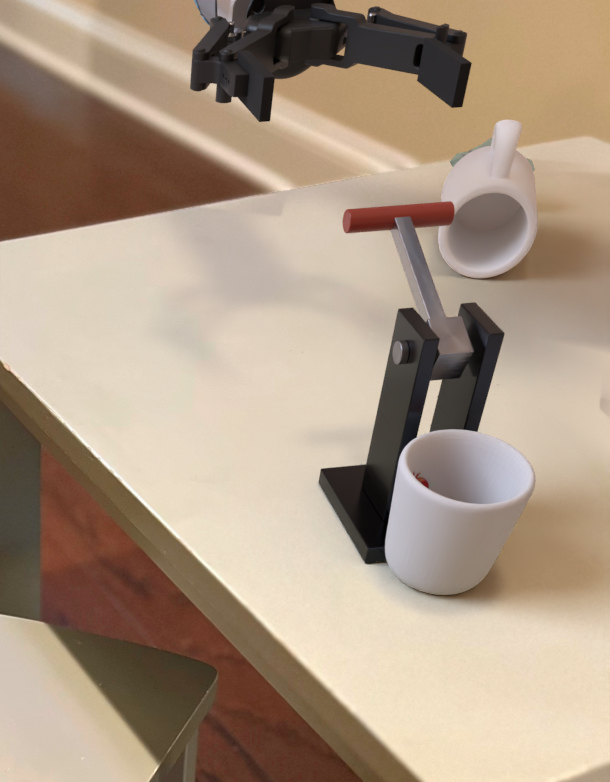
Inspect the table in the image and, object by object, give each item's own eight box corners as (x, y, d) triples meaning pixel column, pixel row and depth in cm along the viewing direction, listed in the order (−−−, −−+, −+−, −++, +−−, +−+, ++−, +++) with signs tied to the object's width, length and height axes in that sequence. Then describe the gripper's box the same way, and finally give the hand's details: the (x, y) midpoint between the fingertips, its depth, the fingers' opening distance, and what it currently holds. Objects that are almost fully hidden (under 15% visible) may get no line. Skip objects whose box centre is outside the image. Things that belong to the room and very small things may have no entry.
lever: (338, 228, 78) (348, 197, 75) (440, 220, 78) (453, 190, 76) (388, 385, 73) (401, 357, 70) (497, 375, 73) (512, 347, 71)
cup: (415, 494, 81) (447, 392, 75) (527, 535, 78) (570, 433, 72) (350, 579, 76) (379, 476, 70) (468, 628, 73) (510, 524, 67)
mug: (521, 239, 113) (558, 102, 105) (523, 283, 106) (562, 140, 98) (432, 232, 115) (462, 97, 107) (428, 275, 108) (460, 133, 100)
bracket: (317, 482, 84) (351, 291, 74) (438, 471, 85) (488, 280, 75) (364, 564, 77) (408, 364, 67) (496, 550, 78) (559, 351, 68)
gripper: (415, 57, 98) (526, 139, 83) (121, 77, 96) (180, 165, 81) (435, -51, 93) (557, 16, 78) (124, -31, 91) (188, 41, 76)
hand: (365, 92), depth 79 cm, fingers open, 13 cm apart
